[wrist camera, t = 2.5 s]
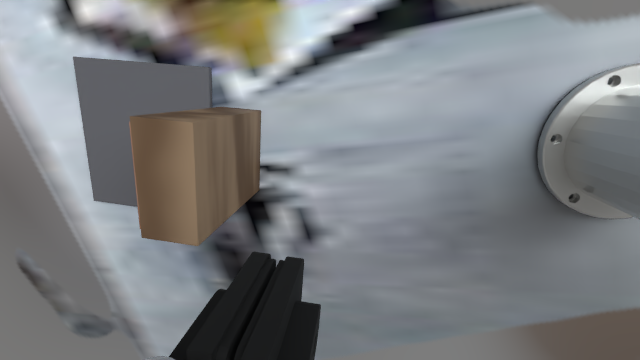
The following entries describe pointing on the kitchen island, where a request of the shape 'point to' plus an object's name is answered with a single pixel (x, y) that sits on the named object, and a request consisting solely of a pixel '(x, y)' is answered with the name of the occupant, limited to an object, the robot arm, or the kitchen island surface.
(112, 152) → the charcoal mat
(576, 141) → the robot arm
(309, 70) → the kitchen island surface
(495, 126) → the kitchen island surface
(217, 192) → the brown wooden block
